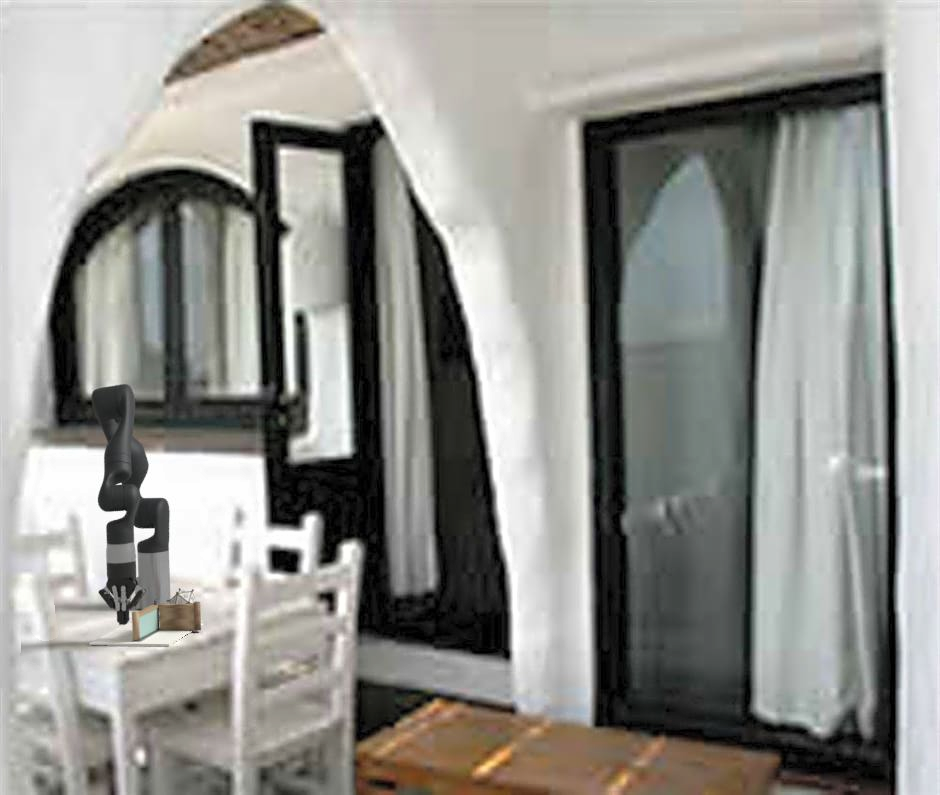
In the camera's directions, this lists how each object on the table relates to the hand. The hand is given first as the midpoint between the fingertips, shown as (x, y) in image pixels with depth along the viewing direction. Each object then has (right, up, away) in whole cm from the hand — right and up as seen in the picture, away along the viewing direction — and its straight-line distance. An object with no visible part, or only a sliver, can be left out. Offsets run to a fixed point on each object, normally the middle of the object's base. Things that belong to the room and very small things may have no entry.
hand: (123, 624), depth 311 cm
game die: (+9, -4, +28) cm, 30 cm away
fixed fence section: (+12, -3, +9) cm, 15 cm away
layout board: (+5, -4, +6) cm, 9 cm away
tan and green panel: (+5, -3, +2) cm, 7 cm away
